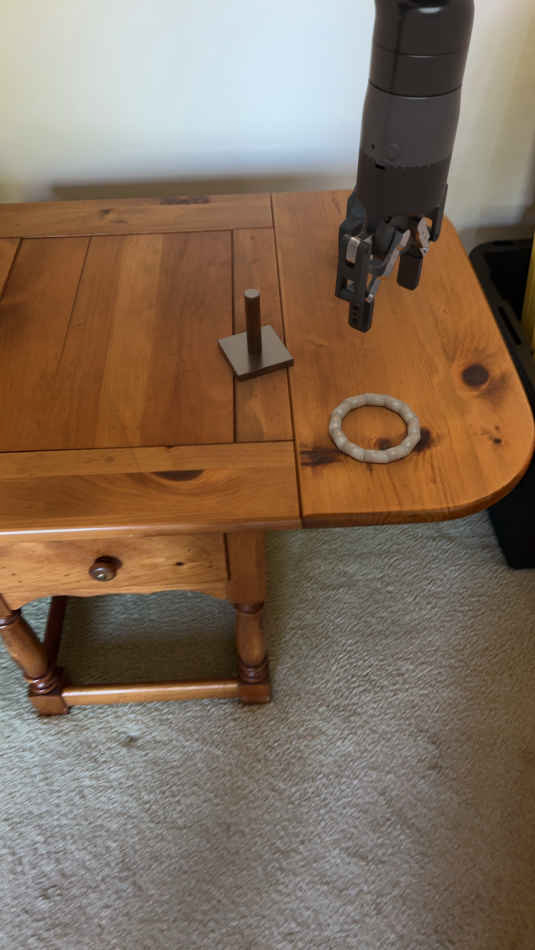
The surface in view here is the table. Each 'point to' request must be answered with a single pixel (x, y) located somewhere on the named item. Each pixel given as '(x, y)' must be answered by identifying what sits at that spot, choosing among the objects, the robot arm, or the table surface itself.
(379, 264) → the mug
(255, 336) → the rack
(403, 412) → the ring
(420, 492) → the table surface
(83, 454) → the table surface
